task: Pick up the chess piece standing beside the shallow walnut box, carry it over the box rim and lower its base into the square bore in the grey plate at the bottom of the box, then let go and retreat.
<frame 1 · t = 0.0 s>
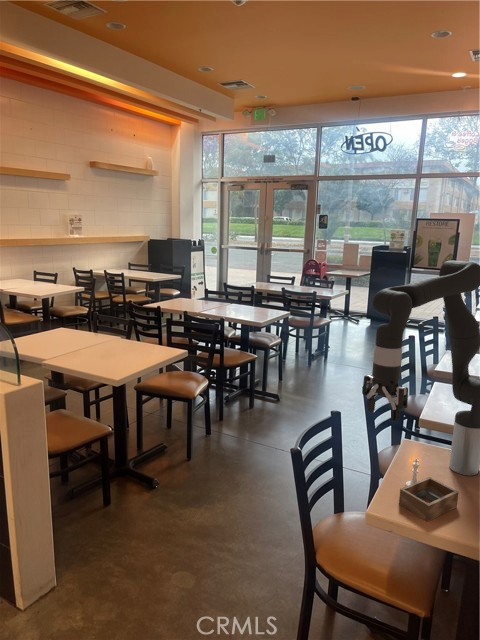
hand: (382, 415, 132), 29 cm above the table, fingers open, 8 cm apart
walnut box: (427, 505, 140), on the table
chess piece: (413, 487, 150), on the table
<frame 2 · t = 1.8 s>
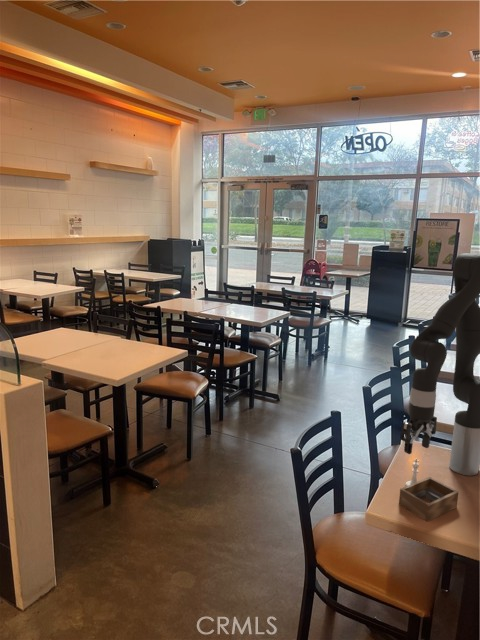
hand: (416, 450, 147), 13 cm above the table, fingers open, 8 cm apart
nothing on the table moved.
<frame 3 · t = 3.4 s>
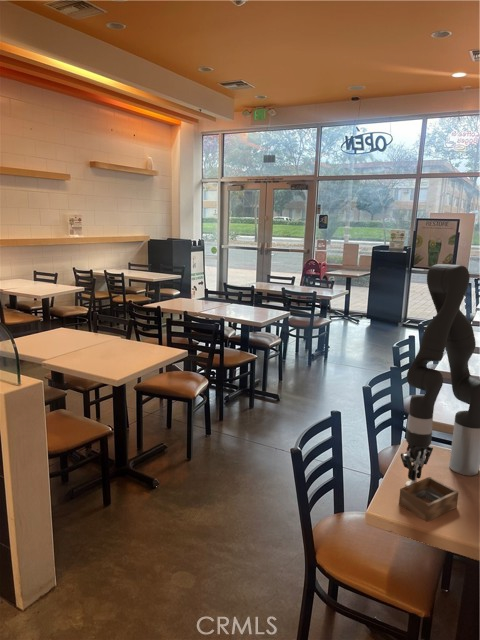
hand: (414, 478, 149), 3 cm above the table, fingers closed on chess piece
chess piece: (413, 487, 150), on the table, touching gripper
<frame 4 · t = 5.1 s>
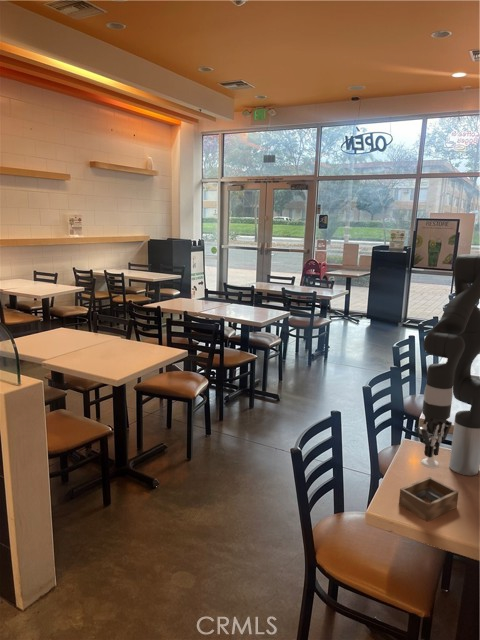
hand: (431, 455, 137), 16 cm above the table, fingers closed on chess piece
chess piece: (429, 465, 137), point 13 cm above the table, touching gripper
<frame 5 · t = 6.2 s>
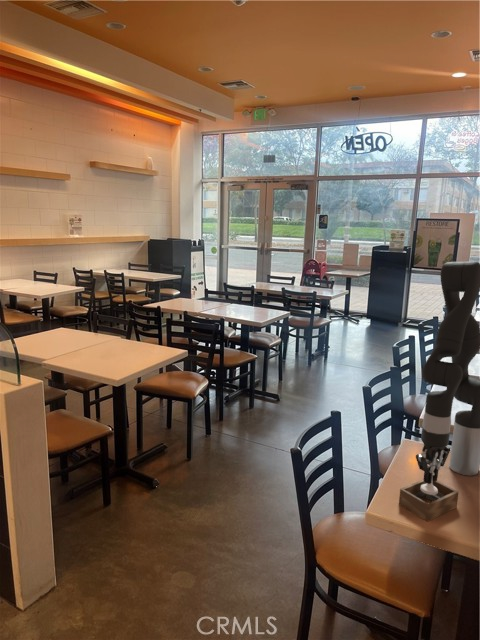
hand: (430, 481, 138), 8 cm above the table, fingers closed on chess piece
chess piece: (428, 490, 139), point 5 cm above the table, touching gripper
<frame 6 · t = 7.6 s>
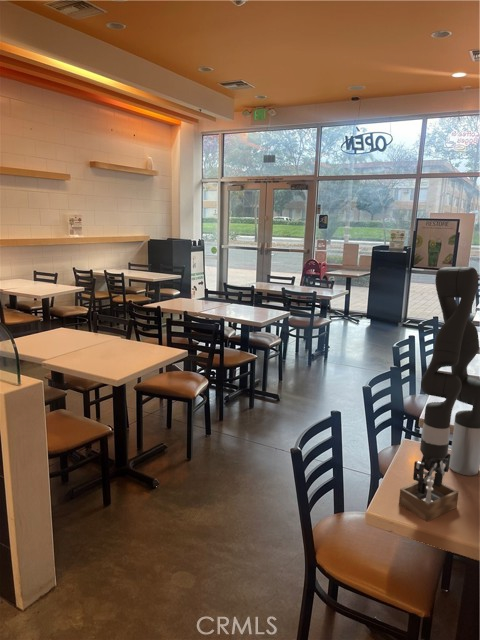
hand: (429, 489, 138), 5 cm above the table, fingers open, 7 cm apart
chess piece: (427, 505, 140), resting in walnut box
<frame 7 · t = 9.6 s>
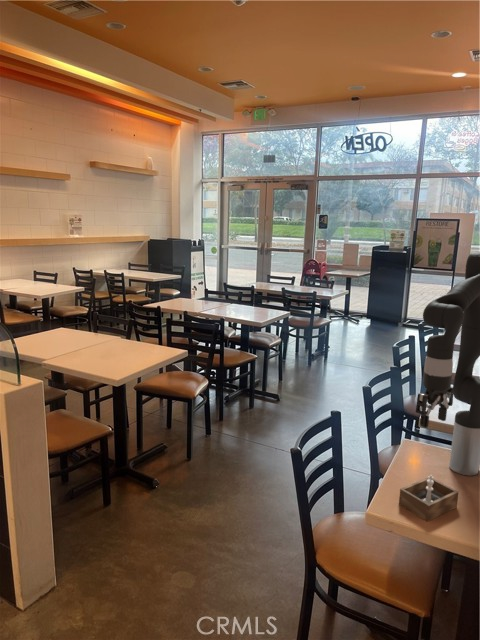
hand: (433, 423, 137), 25 cm above the table, fingers open, 8 cm apart
nothing on the table moved.
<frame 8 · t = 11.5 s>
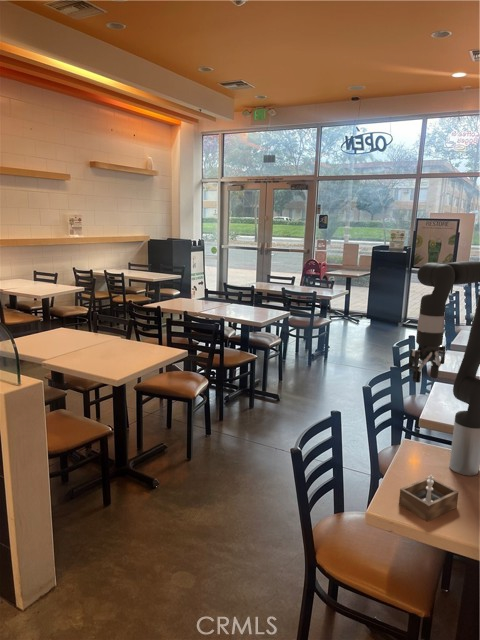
hand: (425, 379, 144), 36 cm above the table, fingers open, 8 cm apart
nothing on the table moved.
at the end: chess piece 0.2 cm from the walnut box (horizontally); chess piece resting in walnut box; chess piece tilted 0° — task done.
